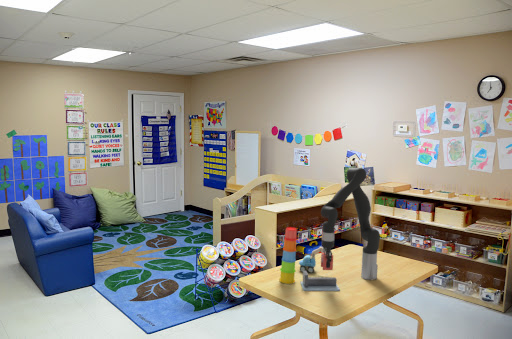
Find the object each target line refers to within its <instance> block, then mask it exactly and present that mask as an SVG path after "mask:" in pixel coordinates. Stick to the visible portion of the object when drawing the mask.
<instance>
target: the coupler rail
mask: <svg viewBox="0 0 512 339" xmlns="http://www.w3.org/2000/svg"><path fill="white" fill-rule="evenodd" d="M302 282H303V285H304V287H306V288H308V286H336V284H337V278H336V277H334V276H333V277H332V276H331V277H329V276H327V277H326V276H325V277H323V276H322V277H320V276H317V277H316V276H313V277H312V276H310V277H309V272H308V270H305V271H303V272H302Z"/></svg>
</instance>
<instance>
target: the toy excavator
mask: <svg viewBox="0 0 512 339" xmlns="http://www.w3.org/2000/svg"><path fill="white" fill-rule="evenodd" d="M319 252H320V253H323V247H322V246H319V247H318V248H316V249H314V250H312V252H311V255H310V254H306V255H305V256H304V257H303V259H301V260H299V262H298V265H299V271H300V272H301V273H303V271H307V273H310V274H312V273H313V272H314V269H315V267H316V263H317V262H316V254H318V253H319Z"/></svg>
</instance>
